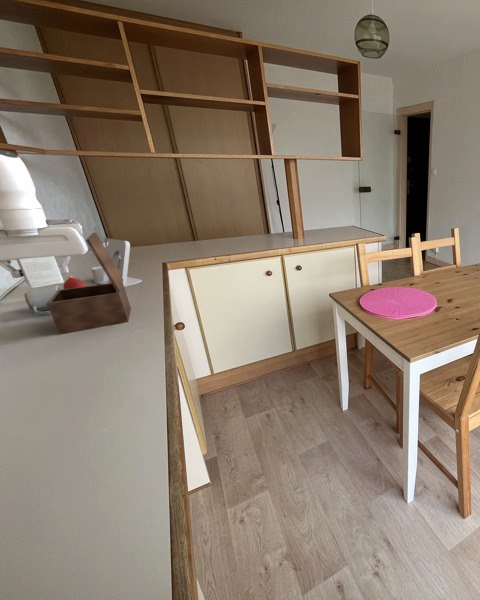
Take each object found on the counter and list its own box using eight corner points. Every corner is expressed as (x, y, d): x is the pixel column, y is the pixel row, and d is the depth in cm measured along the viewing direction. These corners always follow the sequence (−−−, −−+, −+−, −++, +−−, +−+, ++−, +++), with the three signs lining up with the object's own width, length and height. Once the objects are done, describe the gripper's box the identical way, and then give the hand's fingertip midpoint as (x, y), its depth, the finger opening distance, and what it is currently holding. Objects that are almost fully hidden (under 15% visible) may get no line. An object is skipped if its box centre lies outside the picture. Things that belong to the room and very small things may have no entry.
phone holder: (92, 282, 134) (77, 240, 127) (120, 276, 143) (107, 237, 136) (117, 288, 128) (102, 245, 121) (144, 281, 136) (131, 240, 130)
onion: (86, 292, 123) (79, 272, 120) (90, 295, 120) (83, 275, 117) (65, 296, 119) (57, 276, 116) (69, 299, 116) (61, 279, 113)
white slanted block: (59, 278, 86) (49, 252, 84) (64, 283, 83) (54, 256, 80) (26, 283, 82) (14, 256, 79) (30, 288, 78) (18, 260, 76)
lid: (85, 240, 88) (89, 239, 89) (92, 233, 98) (95, 232, 99) (117, 292, 96) (120, 291, 96) (120, 280, 106) (123, 279, 106)
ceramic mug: (33, 308, 107) (24, 287, 104) (67, 302, 113) (59, 282, 110) (30, 319, 100) (20, 296, 97) (66, 312, 106) (57, 291, 103)
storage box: (59, 334, 91) (46, 303, 87) (69, 318, 101) (57, 289, 98) (128, 321, 100) (119, 293, 96) (130, 308, 110) (122, 281, 106)
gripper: (81, 217, 85) (97, 267, 90) (-39, 221, 73) (-13, 277, 78) (76, 220, 80) (94, 272, 85) (-53, 224, 68) (-24, 284, 73)
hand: (42, 274), depth 81 cm, fingers closed on white slanted block, 7 cm apart
